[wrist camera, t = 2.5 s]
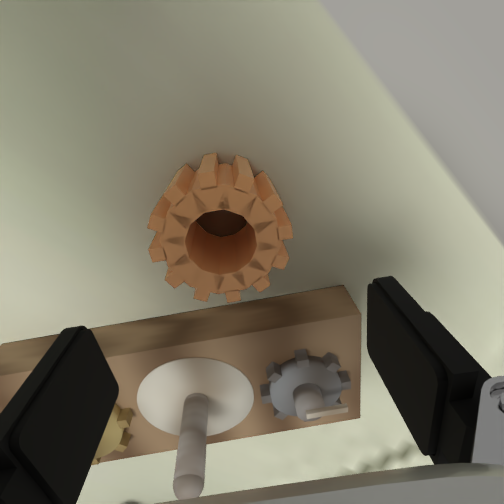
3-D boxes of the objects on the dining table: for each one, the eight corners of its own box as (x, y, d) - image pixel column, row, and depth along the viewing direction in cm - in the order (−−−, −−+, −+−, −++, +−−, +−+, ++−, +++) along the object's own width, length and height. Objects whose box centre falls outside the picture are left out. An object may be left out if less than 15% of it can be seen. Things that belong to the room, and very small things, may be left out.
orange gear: (149, 164, 19) (126, 186, 14) (270, 143, 19) (284, 158, 14) (181, 268, 22) (170, 312, 18) (283, 251, 22) (298, 290, 18)
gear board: (63, 431, 29) (-9, 581, 20) (2, 344, 24) (-130, 491, 15) (345, 383, 29) (398, 511, 20) (343, 285, 24) (413, 398, 15)
